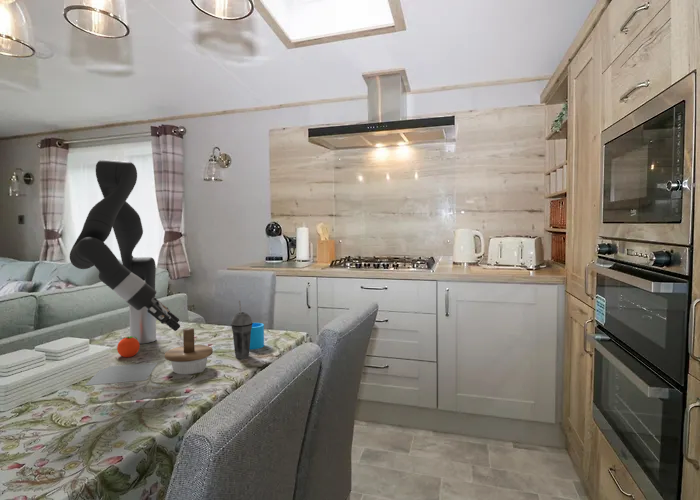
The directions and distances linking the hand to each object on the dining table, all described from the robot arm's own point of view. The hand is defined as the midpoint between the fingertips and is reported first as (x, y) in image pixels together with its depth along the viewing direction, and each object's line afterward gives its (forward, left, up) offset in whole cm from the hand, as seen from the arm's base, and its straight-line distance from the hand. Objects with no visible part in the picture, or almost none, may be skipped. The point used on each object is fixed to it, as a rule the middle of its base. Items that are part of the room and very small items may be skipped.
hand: (177, 325), depth 126 cm
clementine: (-21, -19, -15) cm, 32 cm away
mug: (-24, +23, -15) cm, 37 cm away
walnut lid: (-1, +3, -10) cm, 10 cm away
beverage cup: (-10, +19, -15) cm, 26 cm away
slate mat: (-1, -16, -15) cm, 22 cm away
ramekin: (-1, +3, -15) cm, 15 cm away
